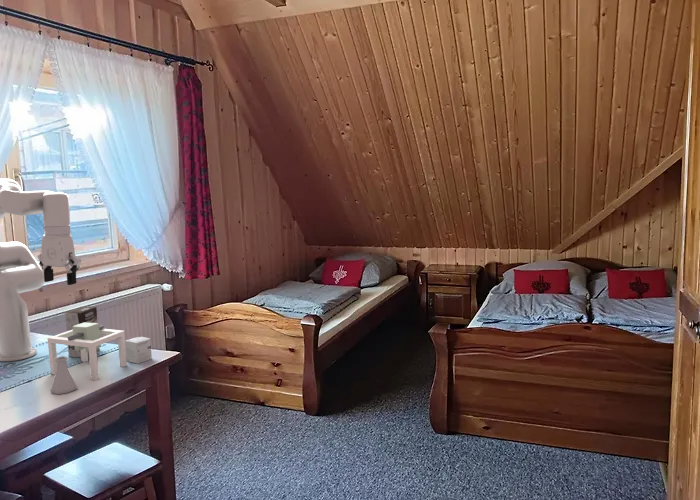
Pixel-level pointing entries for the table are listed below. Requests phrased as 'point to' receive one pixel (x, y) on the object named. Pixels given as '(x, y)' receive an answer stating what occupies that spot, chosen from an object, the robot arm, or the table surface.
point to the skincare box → (138, 349)
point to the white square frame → (90, 344)
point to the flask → (62, 378)
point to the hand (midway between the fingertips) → (60, 282)
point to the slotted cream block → (87, 333)
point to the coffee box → (77, 318)
